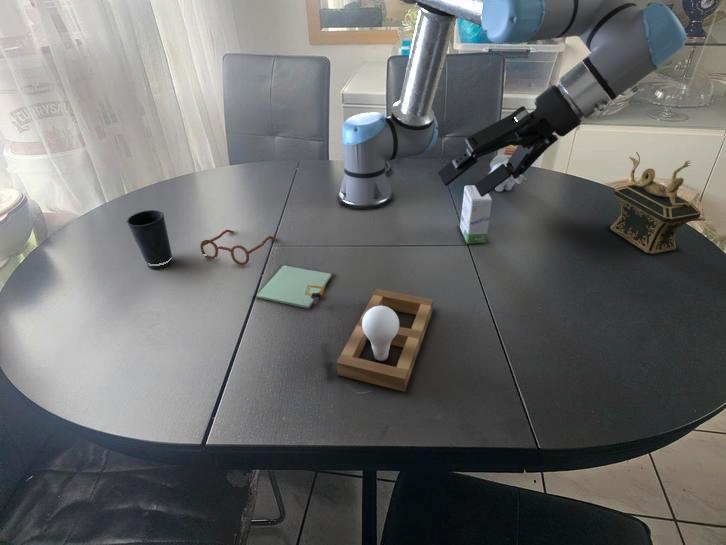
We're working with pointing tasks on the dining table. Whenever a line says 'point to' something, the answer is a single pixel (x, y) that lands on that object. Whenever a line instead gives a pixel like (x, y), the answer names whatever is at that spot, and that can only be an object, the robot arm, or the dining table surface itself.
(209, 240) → the glasses
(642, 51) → the robot arm
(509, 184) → the elephant figurine
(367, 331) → the lightbulb
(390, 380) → the holder
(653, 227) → the decorative box
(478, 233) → the ink box
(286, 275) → the mat
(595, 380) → the dining table surface
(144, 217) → the cup
